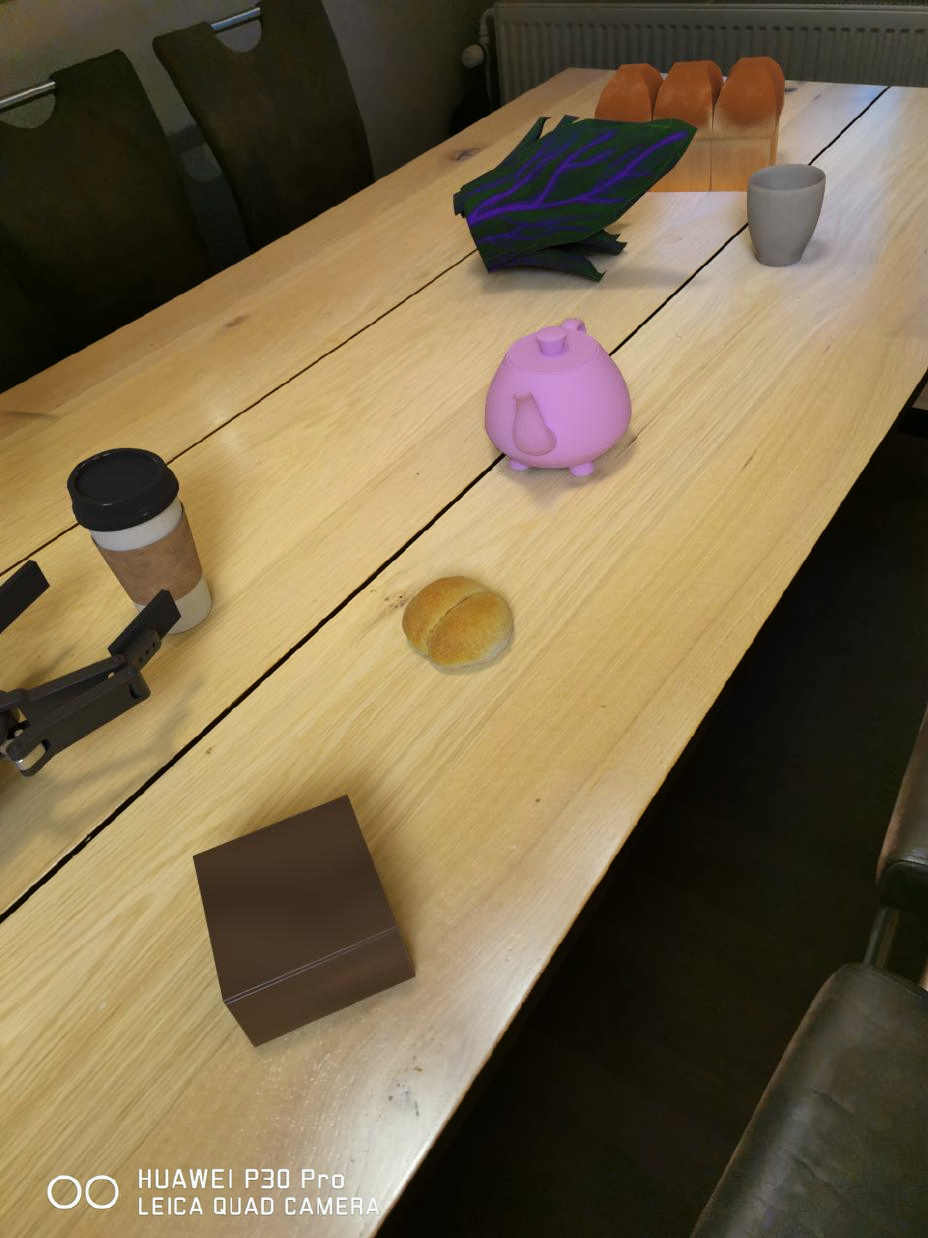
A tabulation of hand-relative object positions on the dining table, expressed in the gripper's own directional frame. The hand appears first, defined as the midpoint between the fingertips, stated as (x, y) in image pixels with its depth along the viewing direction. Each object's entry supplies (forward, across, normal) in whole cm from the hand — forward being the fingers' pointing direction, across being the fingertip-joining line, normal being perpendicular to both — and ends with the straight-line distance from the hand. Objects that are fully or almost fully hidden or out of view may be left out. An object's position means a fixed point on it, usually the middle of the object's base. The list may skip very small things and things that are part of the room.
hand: (104, 587), depth 75 cm
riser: (-17, +28, -8) cm, 34 cm away
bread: (+109, +19, -8) cm, 111 cm away
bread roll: (+10, +25, -8) cm, 28 cm away
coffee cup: (+6, 0, -8) cm, 10 cm away
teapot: (+36, +24, -8) cm, 45 cm away
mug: (+84, +37, -8) cm, 93 cm away
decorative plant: (+78, +12, -8) cm, 79 cm away
